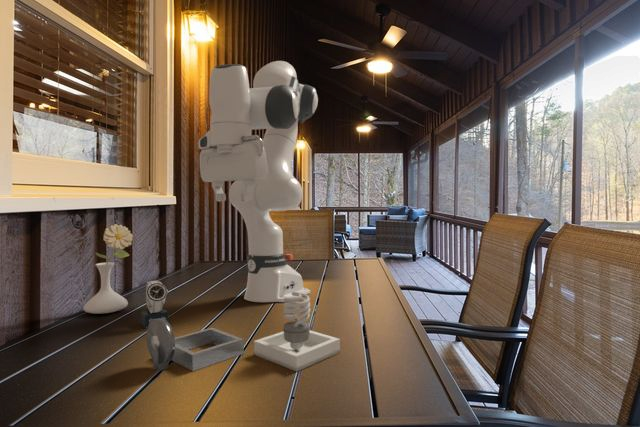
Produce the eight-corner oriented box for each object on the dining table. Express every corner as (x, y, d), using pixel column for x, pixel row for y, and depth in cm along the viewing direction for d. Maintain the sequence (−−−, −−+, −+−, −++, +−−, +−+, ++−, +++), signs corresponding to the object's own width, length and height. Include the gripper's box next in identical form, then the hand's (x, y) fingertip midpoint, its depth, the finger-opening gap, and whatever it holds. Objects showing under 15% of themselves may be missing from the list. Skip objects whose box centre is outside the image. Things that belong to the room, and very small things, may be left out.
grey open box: (212, 340, 90) (211, 300, 90) (243, 353, 83) (243, 309, 82) (141, 362, 79) (140, 315, 78) (169, 379, 71) (168, 327, 71)
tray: (297, 338, 91) (297, 326, 91) (340, 352, 83) (339, 338, 83) (254, 354, 82) (253, 340, 82) (296, 371, 74) (296, 356, 73)
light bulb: (282, 345, 85) (282, 289, 84) (309, 344, 85) (309, 288, 85) (282, 356, 79) (282, 295, 79) (311, 355, 80) (311, 295, 79)
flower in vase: (82, 319, 108) (79, 226, 107) (84, 309, 118) (82, 224, 117) (135, 312, 114) (133, 224, 113) (133, 303, 124) (131, 222, 123)
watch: (147, 330, 98) (146, 285, 98) (139, 322, 105) (138, 280, 105) (170, 325, 102) (169, 282, 101) (161, 318, 108) (160, 277, 108)
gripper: (273, 135, 84) (275, 201, 85) (217, 144, 98) (219, 200, 99) (249, 132, 80) (251, 201, 81) (193, 142, 93) (196, 201, 94)
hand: (233, 201), depth 90 cm, fingers open, 8 cm apart
